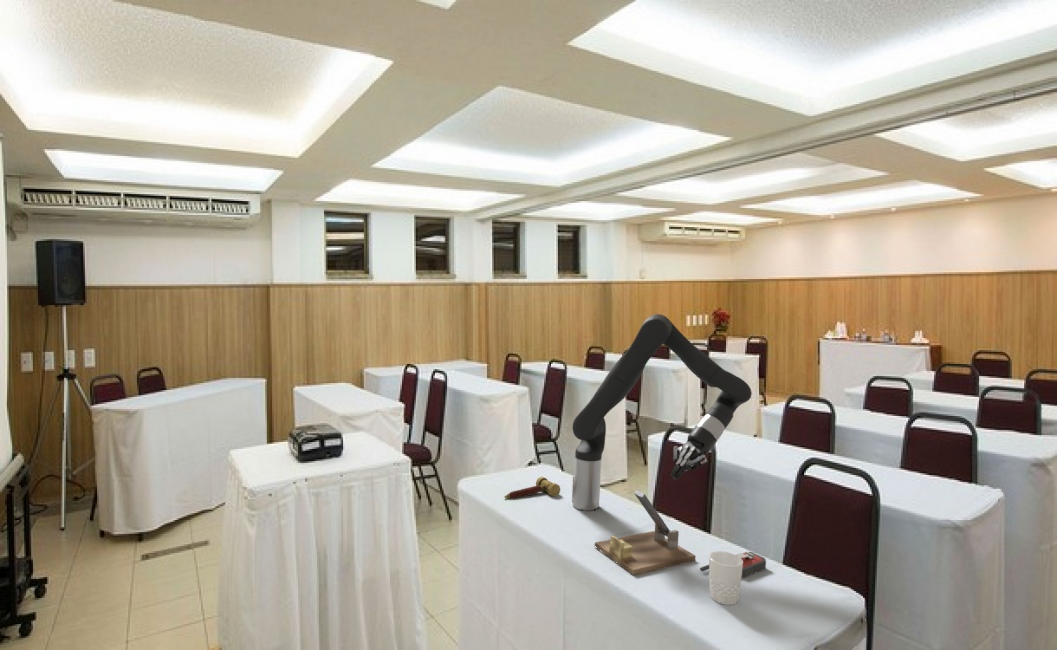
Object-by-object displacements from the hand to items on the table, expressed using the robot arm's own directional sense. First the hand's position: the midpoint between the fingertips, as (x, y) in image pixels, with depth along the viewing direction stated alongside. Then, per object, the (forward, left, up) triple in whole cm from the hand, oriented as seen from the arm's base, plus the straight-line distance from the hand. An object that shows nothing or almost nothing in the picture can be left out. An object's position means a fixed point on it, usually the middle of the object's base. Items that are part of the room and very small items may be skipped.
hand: (673, 477), depth 165 cm
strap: (0, -7, -11) cm, 13 cm away
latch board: (0, -10, -21) cm, 23 cm away
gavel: (-55, -18, -22) cm, 62 cm away
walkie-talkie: (+17, +8, -22) cm, 29 cm away
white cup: (+27, -7, -22) cm, 35 cm away
